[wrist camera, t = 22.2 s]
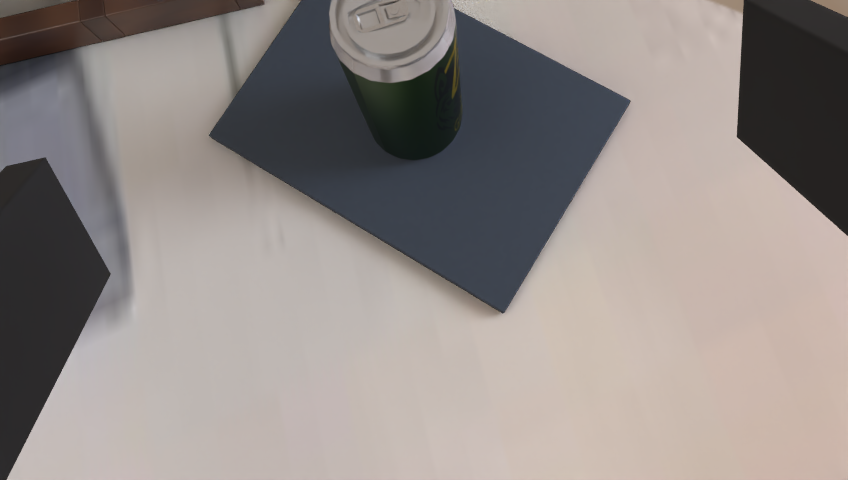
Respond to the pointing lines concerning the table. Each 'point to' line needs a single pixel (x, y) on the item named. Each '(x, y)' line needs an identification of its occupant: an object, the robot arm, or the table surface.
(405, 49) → the beer can
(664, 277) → the table surface
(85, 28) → the can stand
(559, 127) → the slate mat
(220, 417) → the table surface
